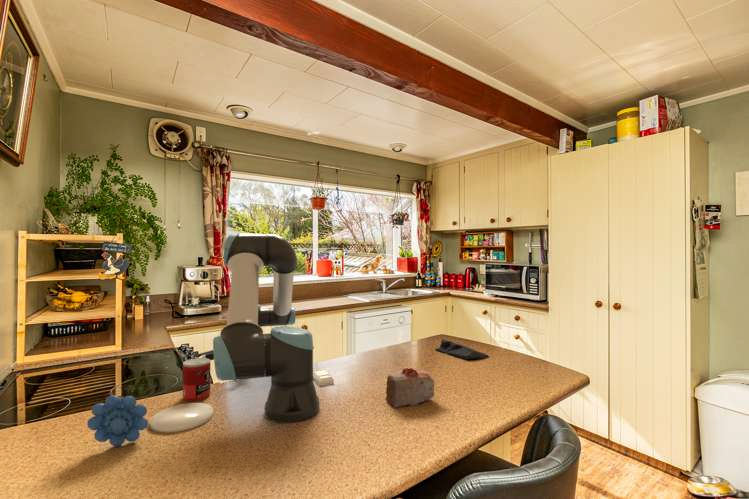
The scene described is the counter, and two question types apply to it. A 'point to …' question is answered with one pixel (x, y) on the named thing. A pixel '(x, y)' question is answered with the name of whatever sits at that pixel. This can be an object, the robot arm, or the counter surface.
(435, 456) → the counter surface
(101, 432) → the grapes
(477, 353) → the dark slate chunk
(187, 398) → the canned food
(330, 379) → the soap bar
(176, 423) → the plate
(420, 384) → the food item
